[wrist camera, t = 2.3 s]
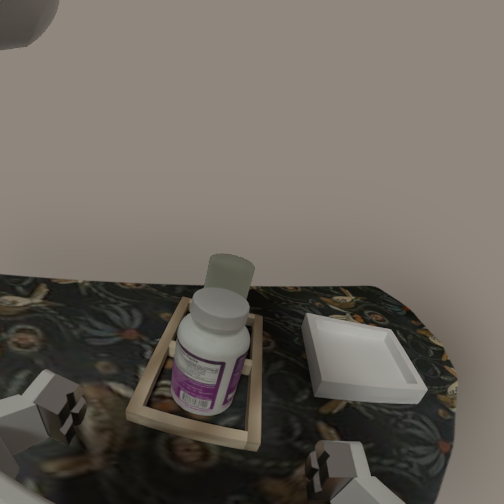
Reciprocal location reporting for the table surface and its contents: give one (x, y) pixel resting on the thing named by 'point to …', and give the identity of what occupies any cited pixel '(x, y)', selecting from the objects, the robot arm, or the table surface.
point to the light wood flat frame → (193, 428)
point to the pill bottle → (210, 351)
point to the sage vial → (229, 273)
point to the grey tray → (358, 362)
